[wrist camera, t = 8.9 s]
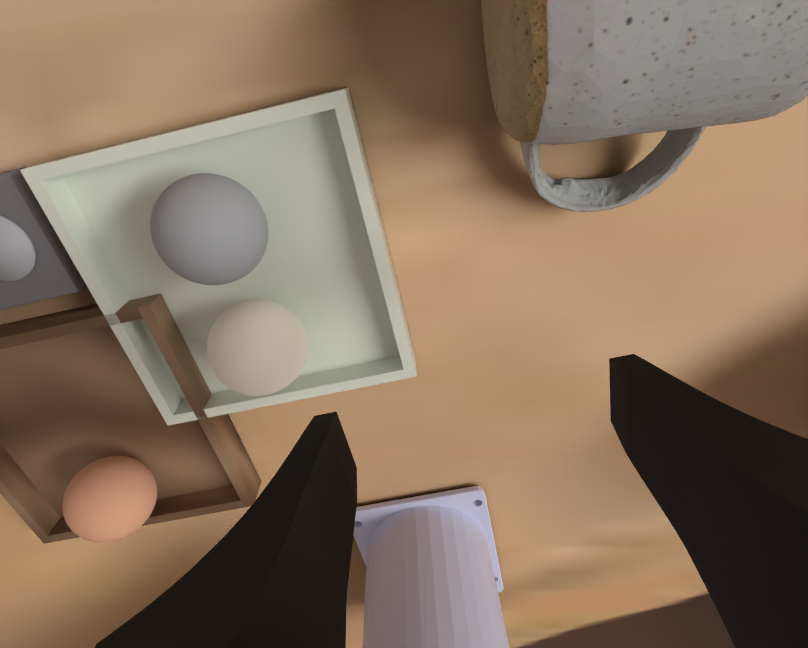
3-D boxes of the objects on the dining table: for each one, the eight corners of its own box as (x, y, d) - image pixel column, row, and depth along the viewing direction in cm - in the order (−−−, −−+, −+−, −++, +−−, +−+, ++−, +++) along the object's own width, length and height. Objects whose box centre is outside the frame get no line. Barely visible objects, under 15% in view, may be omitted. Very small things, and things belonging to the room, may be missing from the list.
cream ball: (324, 352, 23) (313, 405, 19) (243, 369, 23) (217, 424, 20) (297, 274, 21) (279, 318, 17) (209, 294, 21) (173, 340, 18)
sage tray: (415, 356, 24) (416, 376, 22) (181, 403, 25) (167, 425, 23) (348, 87, 18) (344, 89, 17) (48, 161, 19) (19, 169, 17)
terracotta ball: (182, 488, 27) (150, 553, 23) (114, 500, 27) (72, 566, 23) (148, 432, 25) (108, 494, 21) (75, 446, 25) (24, 509, 22)
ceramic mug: (459, -101, 16) (512, -212, 9) (722, -163, 15) (990, -332, 8) (491, 218, 21) (541, 298, 14) (689, 180, 20) (838, 246, 14)
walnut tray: (261, 481, 27) (253, 505, 26) (62, 517, 28) (43, 543, 27) (165, 288, 22) (148, 305, 20) (-79, 342, 23) (-112, 362, 21)
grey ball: (289, 251, 20) (273, 289, 17) (197, 272, 21) (162, 313, 17) (256, 154, 19) (230, 172, 15) (156, 177, 19) (106, 201, 15)
